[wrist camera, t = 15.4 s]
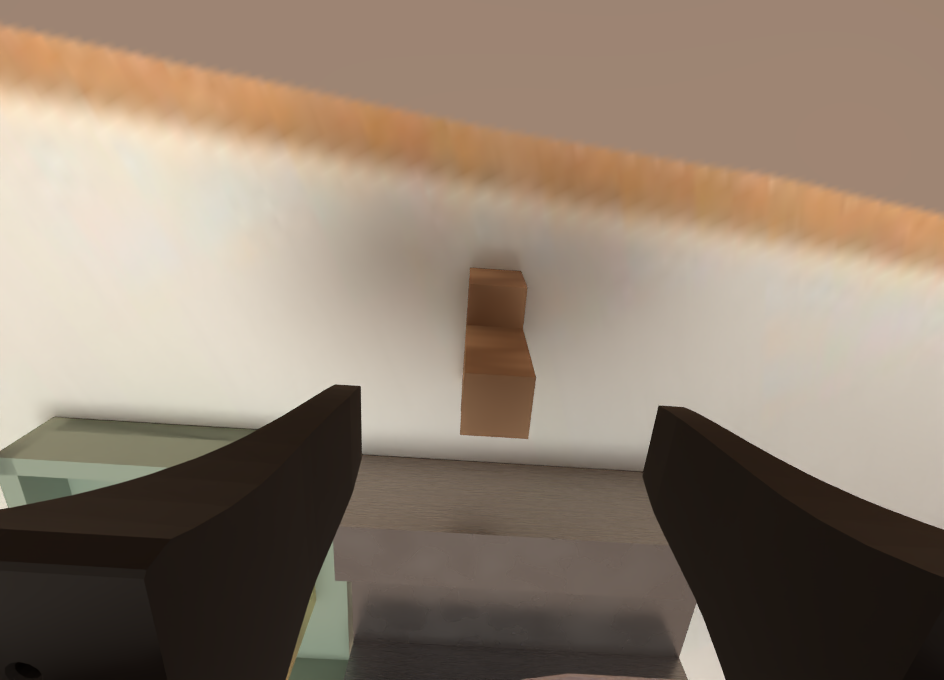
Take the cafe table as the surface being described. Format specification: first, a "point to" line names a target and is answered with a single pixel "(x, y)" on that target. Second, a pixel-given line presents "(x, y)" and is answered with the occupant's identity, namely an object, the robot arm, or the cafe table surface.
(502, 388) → the stepped wooden block
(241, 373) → the cafe table surface
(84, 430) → the tray
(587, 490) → the grey open tray
